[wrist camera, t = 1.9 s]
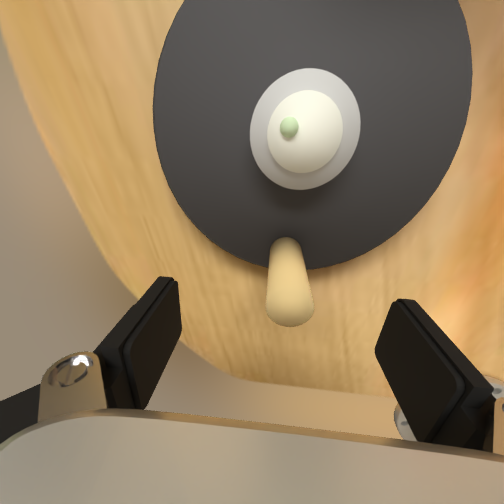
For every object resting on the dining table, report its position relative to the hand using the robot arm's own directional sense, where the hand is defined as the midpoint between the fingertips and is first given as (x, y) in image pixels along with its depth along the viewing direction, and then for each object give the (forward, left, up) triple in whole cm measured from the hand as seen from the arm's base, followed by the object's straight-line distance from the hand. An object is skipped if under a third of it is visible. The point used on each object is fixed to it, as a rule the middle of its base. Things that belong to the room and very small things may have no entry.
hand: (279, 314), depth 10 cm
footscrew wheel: (+5, -6, -10) cm, 12 cm away
